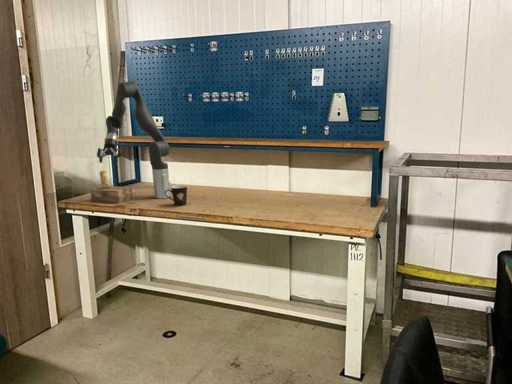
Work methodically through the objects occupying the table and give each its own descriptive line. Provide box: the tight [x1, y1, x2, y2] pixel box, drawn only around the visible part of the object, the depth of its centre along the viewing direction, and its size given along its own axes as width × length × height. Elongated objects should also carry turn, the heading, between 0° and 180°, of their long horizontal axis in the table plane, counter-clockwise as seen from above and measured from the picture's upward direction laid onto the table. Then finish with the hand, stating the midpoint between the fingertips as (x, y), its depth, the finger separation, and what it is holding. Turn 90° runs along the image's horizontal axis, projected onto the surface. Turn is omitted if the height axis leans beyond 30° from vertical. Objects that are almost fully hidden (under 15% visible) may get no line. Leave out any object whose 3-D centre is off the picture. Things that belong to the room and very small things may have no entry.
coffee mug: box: [165, 184, 188, 207], centre depth 225 cm, size 12×9×10 cm
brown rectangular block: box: [89, 185, 133, 204], centre depth 242 cm, size 12×20×7 cm, turn 69°
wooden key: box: [99, 170, 109, 189], centre depth 243 cm, size 4×4×14 cm
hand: (108, 162), depth 252 cm, fingers open, 8 cm apart
